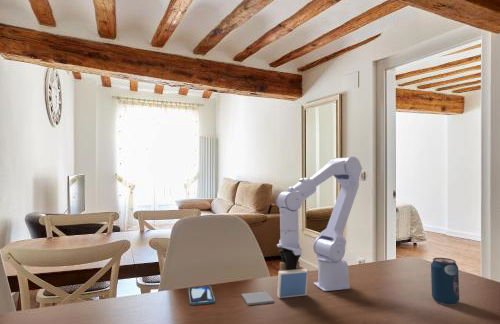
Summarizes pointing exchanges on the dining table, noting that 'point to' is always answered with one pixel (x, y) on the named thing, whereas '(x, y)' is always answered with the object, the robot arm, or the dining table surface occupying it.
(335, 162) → the robot arm
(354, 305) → the dining table surface
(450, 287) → the soda can
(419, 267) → the dining table surface
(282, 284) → the tile
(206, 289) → the smartphone
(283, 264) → the stepped beige block
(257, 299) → the mat
